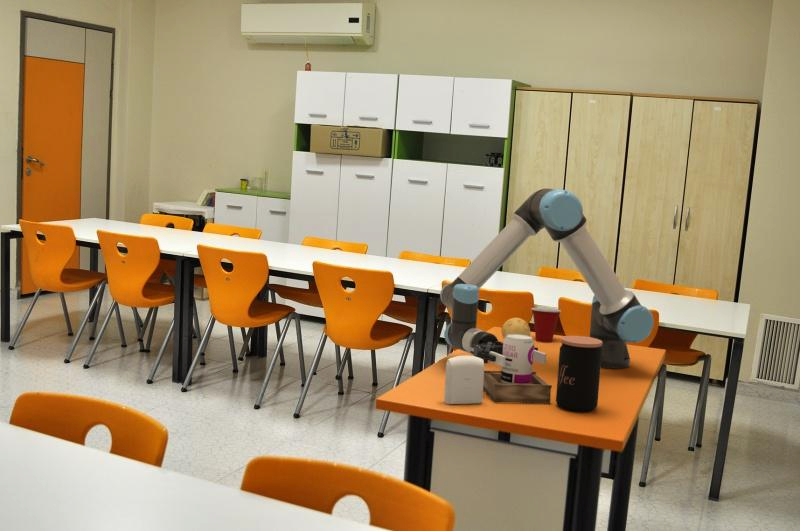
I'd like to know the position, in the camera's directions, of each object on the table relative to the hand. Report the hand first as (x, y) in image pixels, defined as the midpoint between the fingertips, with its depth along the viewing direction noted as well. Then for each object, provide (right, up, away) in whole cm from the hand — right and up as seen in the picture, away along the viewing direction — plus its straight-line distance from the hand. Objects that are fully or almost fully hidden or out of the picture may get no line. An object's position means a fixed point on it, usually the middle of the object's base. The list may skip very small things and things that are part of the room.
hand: (524, 360), depth 230 cm
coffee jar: (+13, -12, -4) cm, 18 cm away
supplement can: (-2, -9, +4) cm, 10 cm away
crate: (-2, -10, +4) cm, 11 cm away
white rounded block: (-17, -11, -6) cm, 21 cm away
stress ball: (+7, -3, +72) cm, 72 cm away
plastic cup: (+19, -2, +84) cm, 87 cm away
